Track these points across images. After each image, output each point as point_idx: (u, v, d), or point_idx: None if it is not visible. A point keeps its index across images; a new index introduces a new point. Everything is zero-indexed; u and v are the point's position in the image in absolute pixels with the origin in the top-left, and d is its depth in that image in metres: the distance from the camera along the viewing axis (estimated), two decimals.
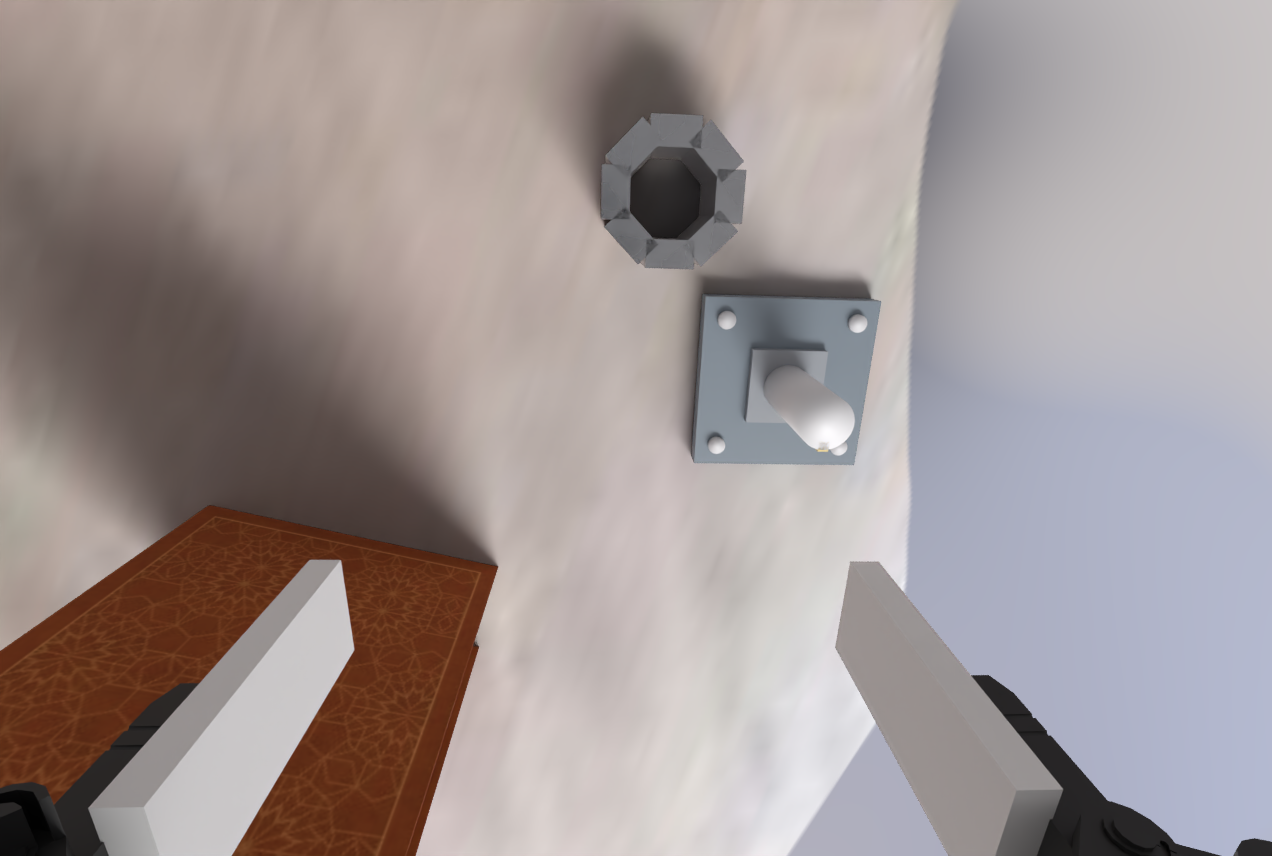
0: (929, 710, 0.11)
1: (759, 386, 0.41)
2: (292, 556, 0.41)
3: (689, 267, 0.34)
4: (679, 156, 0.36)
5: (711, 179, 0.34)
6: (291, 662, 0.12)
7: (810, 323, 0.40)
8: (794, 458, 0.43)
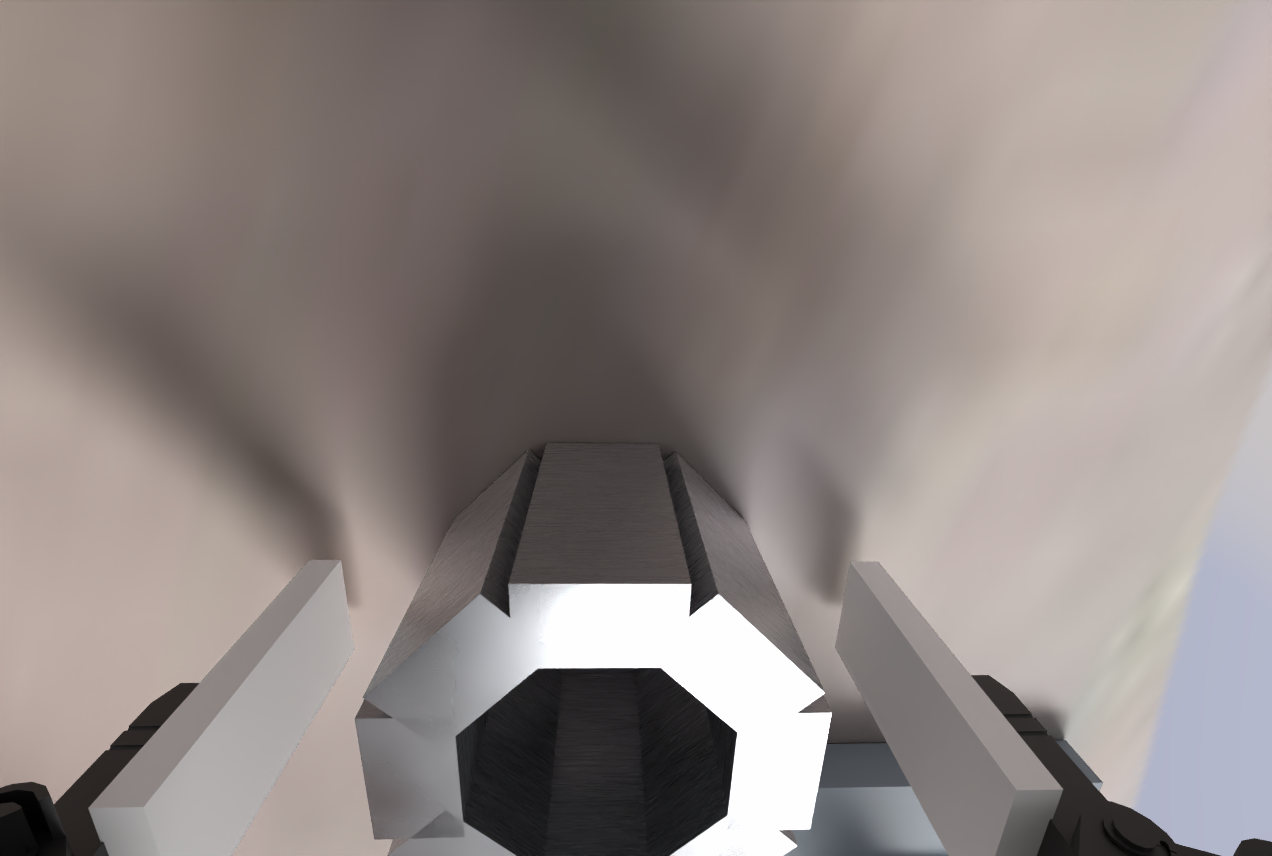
0: (929, 710, 0.11)
1: None
2: None
3: None
4: None
5: None
6: (291, 662, 0.12)
7: None
8: None
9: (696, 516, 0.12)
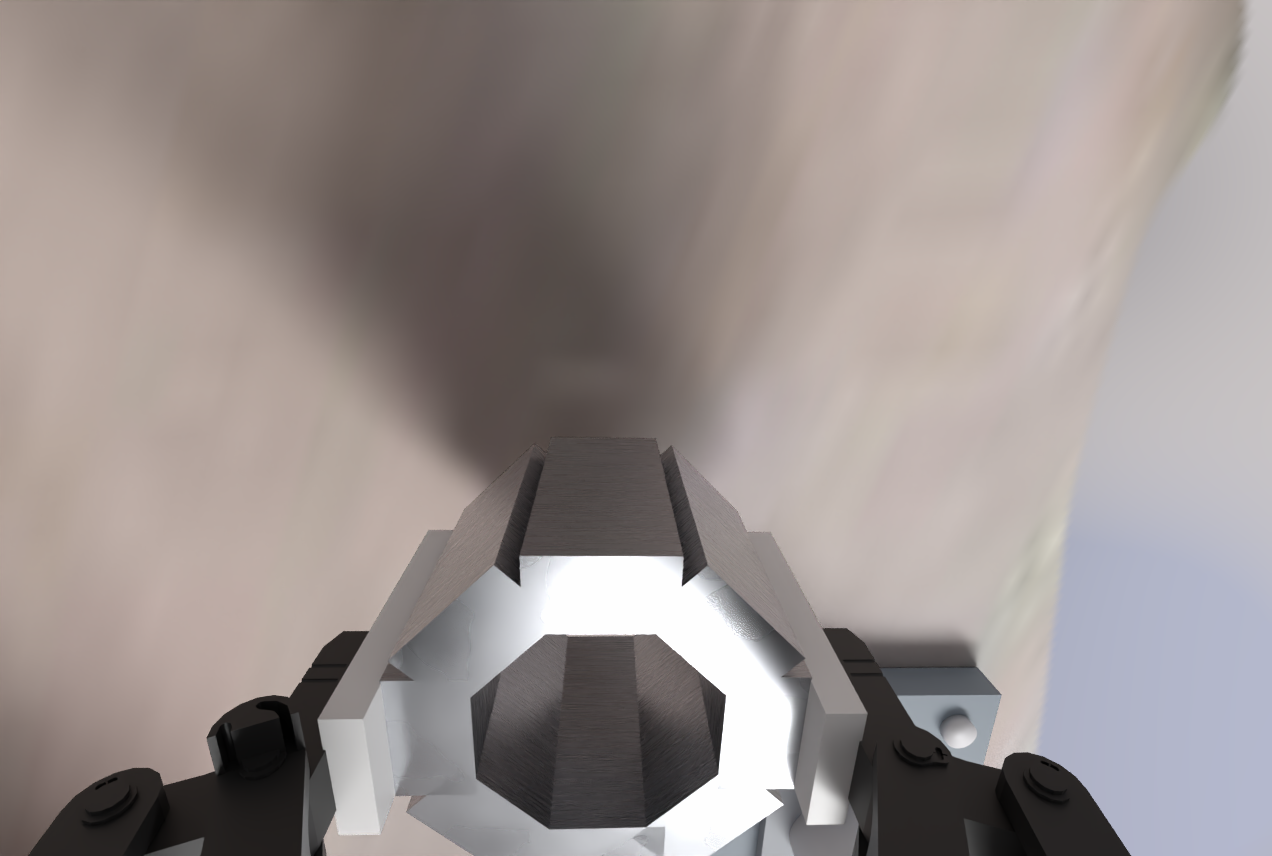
0: None
1: (781, 833, 0.23)
2: None
3: None
4: None
5: None
6: None
7: None
8: None
9: (689, 501, 0.13)
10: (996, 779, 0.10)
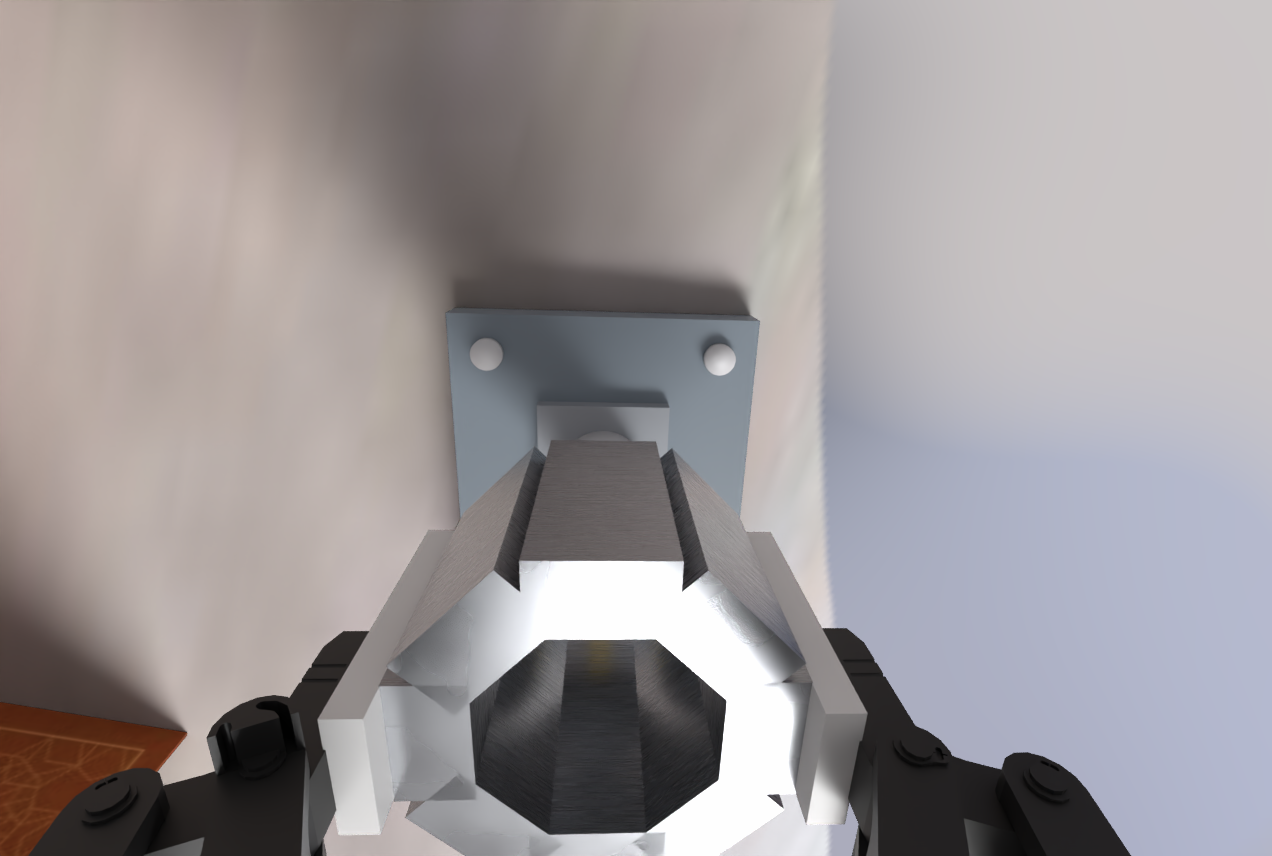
0: None
1: None
2: None
3: None
4: None
5: None
6: None
7: (638, 359, 0.23)
8: None
9: (690, 505, 0.13)
10: (996, 779, 0.10)
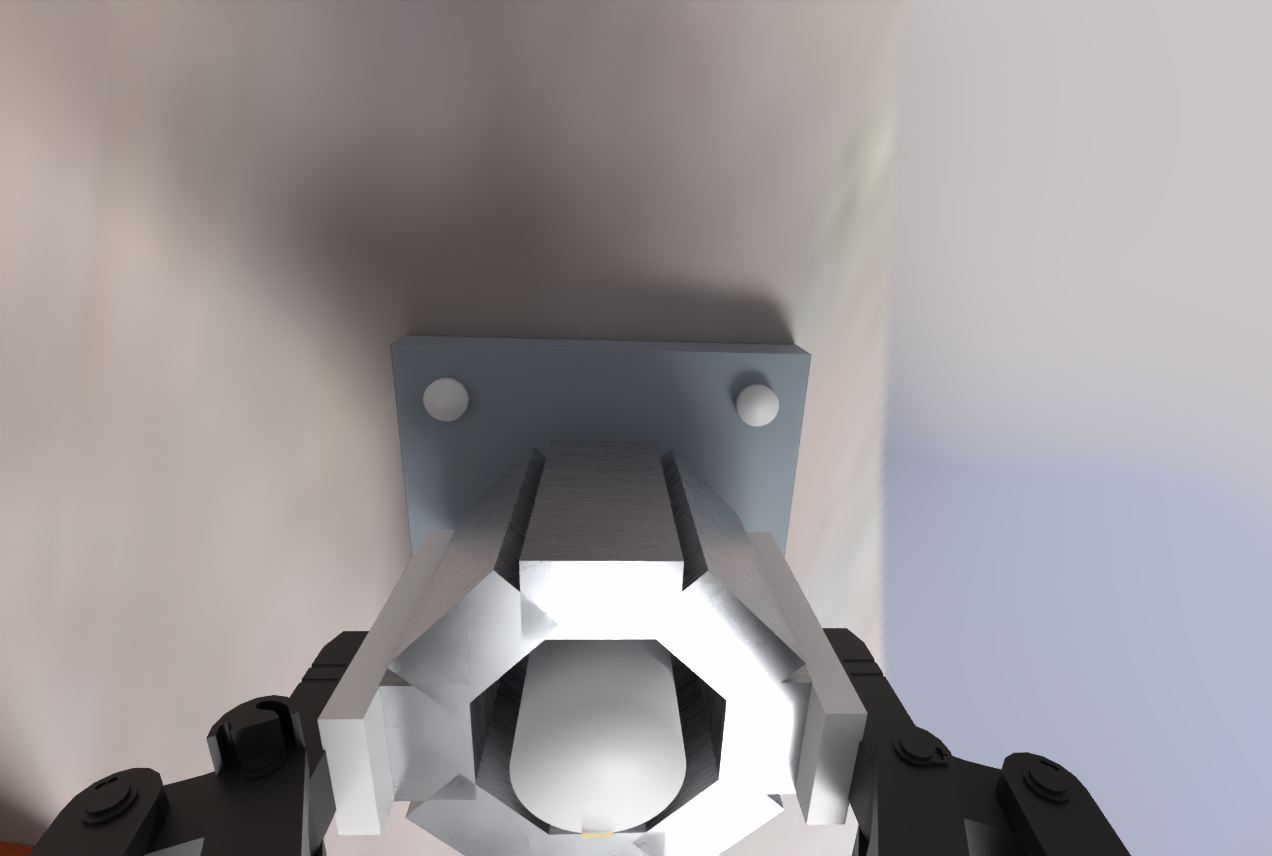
0: None
1: None
2: None
3: None
4: None
5: None
6: None
7: (648, 405, 0.17)
8: None
9: (690, 505, 0.13)
10: (996, 779, 0.10)
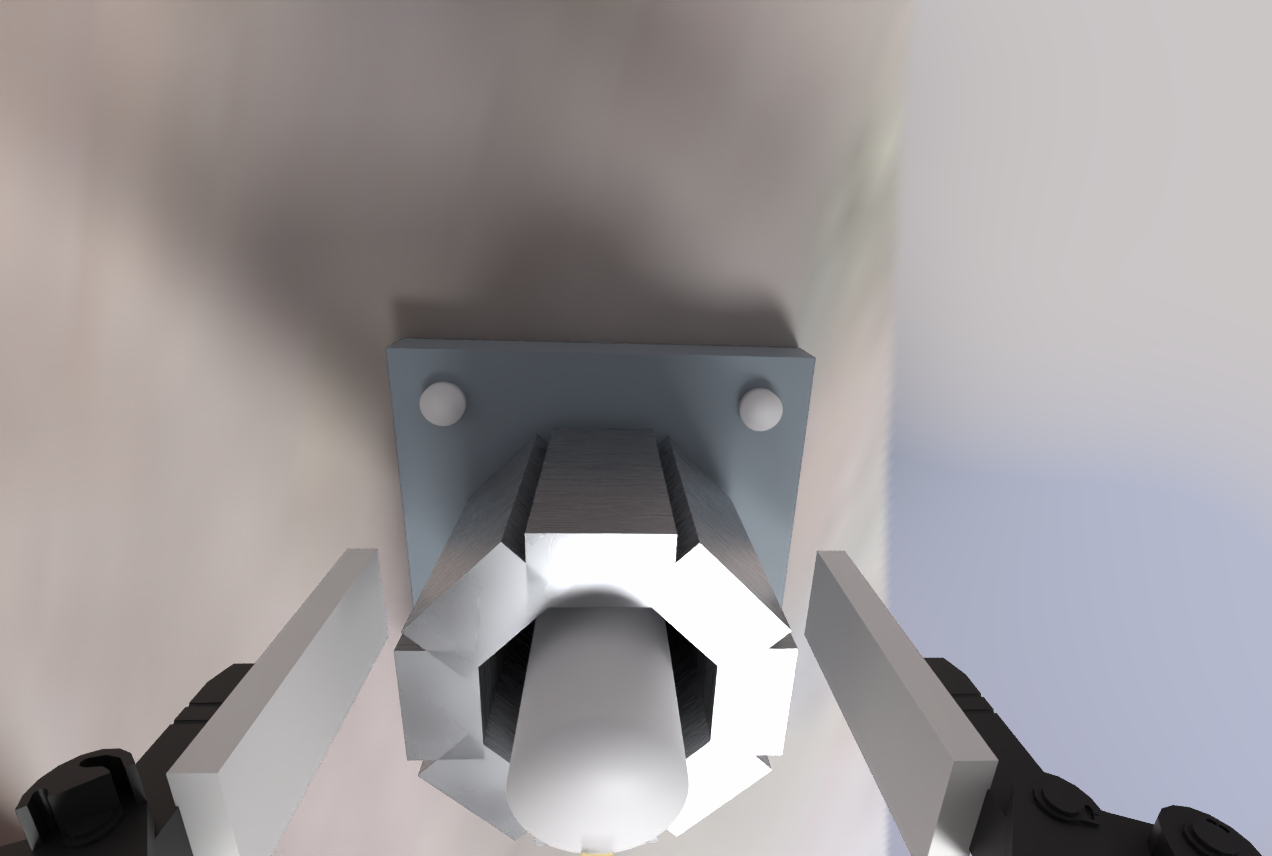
0: (882, 690, 0.12)
1: None
2: None
3: None
4: None
5: None
6: (336, 645, 0.13)
7: (649, 409, 0.17)
8: None
9: (684, 486, 0.13)
10: (1149, 830, 0.09)
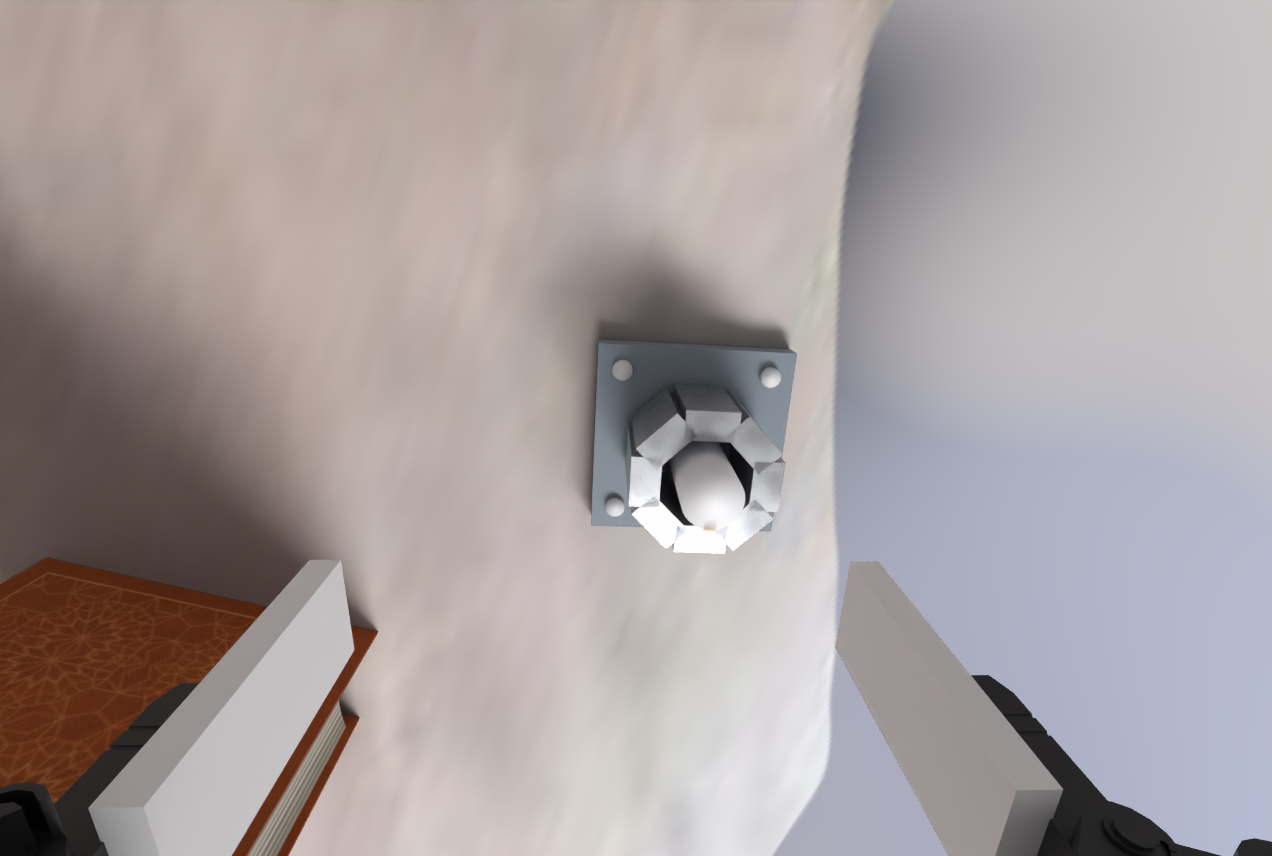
0: (929, 710, 0.11)
1: None
2: (126, 622, 0.36)
3: (720, 551, 0.32)
4: None
5: None
6: (291, 662, 0.12)
7: (717, 375, 0.36)
8: None
9: (739, 403, 0.32)
10: None
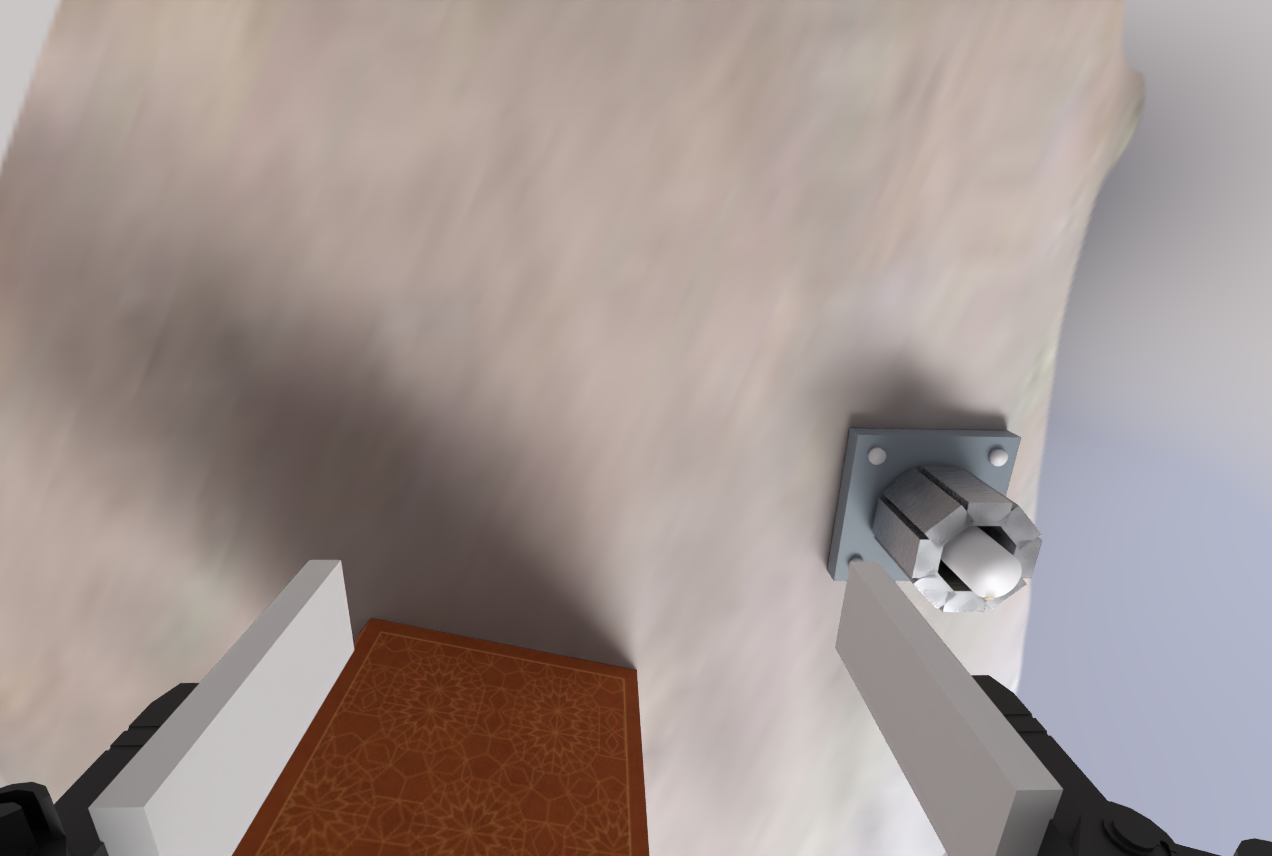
0: (929, 710, 0.11)
1: None
2: (460, 674, 0.43)
3: (980, 610, 0.39)
4: None
5: (997, 531, 0.39)
6: (291, 662, 0.12)
7: (953, 457, 0.42)
8: None
9: (993, 488, 0.39)
10: None
